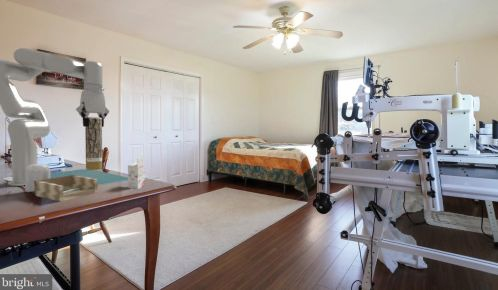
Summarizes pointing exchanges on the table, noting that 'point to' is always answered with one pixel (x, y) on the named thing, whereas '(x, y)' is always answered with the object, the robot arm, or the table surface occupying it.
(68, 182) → the tan open tray
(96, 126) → the bark covered post
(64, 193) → the sage offcut
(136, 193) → the table surface
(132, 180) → the ink cartridge box
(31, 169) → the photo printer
